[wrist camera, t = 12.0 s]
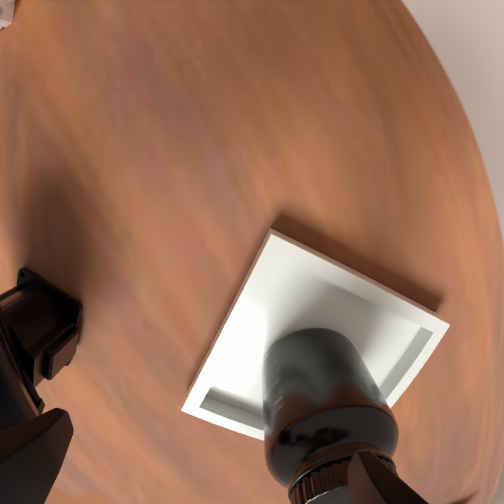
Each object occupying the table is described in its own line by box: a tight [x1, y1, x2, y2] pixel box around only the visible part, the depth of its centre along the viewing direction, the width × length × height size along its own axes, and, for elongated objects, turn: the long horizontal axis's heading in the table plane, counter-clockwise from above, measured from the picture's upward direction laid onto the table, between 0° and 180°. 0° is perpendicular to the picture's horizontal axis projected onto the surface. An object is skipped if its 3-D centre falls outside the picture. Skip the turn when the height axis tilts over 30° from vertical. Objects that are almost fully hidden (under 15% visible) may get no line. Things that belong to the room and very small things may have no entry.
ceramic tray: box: [181, 228, 450, 440], centre depth 20 cm, size 14×14×2 cm
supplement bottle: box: [262, 328, 399, 504], centre depth 15 cm, size 7×7×12 cm
